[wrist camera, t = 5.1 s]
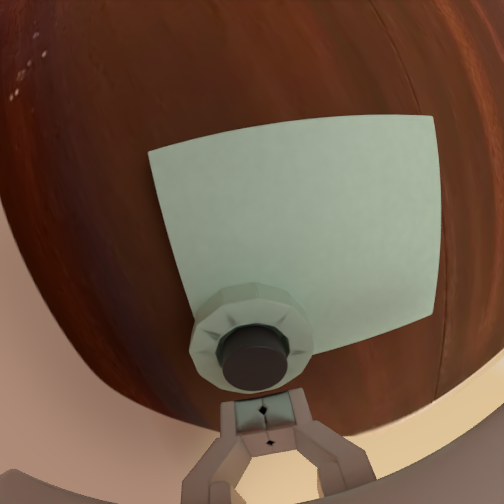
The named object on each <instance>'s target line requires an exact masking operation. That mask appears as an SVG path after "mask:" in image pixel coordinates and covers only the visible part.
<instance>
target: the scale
mask: <svg viewBox="0 0 504 504" xmlns="http://www.w3.org/2000/svg"><path fill="white" fill-rule="evenodd" d="M148 157H149V161H150V166H151V170H152V175H153V179H154V183H155V187H156V192H157V196H158V200H159V204H160V207H161V211H162V215H163V219H164V223H165V226H166V230H167V233H168V237H169V240H170V244H171V247H172V251H173V254H174V258H175V261H176V264H177V267H178V271H179V274H180V277H181V280H182V283H183V286H184V289H185V292H186V295H187V298H188V301H189V304H190V307H191V310H192V313H193V316H194V319H195V322H194V326H193V329H192V334H191V340H190V346H189V353H190V355H191V358H192V360H193V362H194V364H195V367H196V369H197V371H198V373H199V375H200V376H202V377H203V378H205V379H206V380H208V381H209V382H211V383H212V384H214V385H215V386H217V387H218V388H220V389H223V390H228V391H233V392H239V393H245V394H249V393H250V394H251V393H257V392H262V391H267V390H272V389H276V388H279V387H281V386H282V385H284V384H286V383H287V382H289V381H290V380H292V379H293V378H295V377H296V376H298V375H299V374H300V373H302V372H303V370H304V368H305V367H306V365H307V363H308V362H309V360H310V358H311V356H312V355H314V354H317V353H321V352H325V351H328V350H332V349H335V348H339V347H342V346H346V345H349V344H352V343H355V342H358V341H362V340H365V339H368V338H371V337H374V336H376V335H379V334H382V333H385V332H388V331H391V330H393V329H396V328H399V327H401V326H404V325H407V324H409V323H412V322H414V321H417V320H419V319H422V318H424V317H426V316H429V315H431V314H432V312H433V306H434V300H435V293H436V285H437V277H438V267H439V255H440V237H441V188H440V170H439V159H438V149H437V141H436V133H435V126H434V120H433V116H424V115H353V116H336V117H323V118H313V119H303V120H295V121H287V122H279V123H272V124H266V125H260V126H254V127H248V128H243V129H237V130H232V131H227V132H222V133H218V134H213V135H209V136H204V137H200V138H196V139H192V140H188V141H184V142H180V143H176V144H173V145H169V146H166V147H162V148H159V149H155V150H152V151H149V152H148ZM254 325H255V326H263V327H267V328H269V329H271V330H273V331H274V332H275V333H276V334H277V335H278V336H279V337H280V339H281V341H282V345H283V348H284V351H285V355H286V358H287V362H288V369H287V372H286V374H285V376H284V378H283V379H282V380H281V381H280V382H279V383H277V384H276V385H274V386H273V387H270V388H268V389H265V390H261V391H244V390H240V389H238V388H235V387H233V386H232V385H231V384H229V383H228V382H227V380H226V379H225V377H224V375H223V371H222V349H223V344H224V342H225V340H226V338H227V337H228V336H229V335H230V334H231V333H232V332H234V331H235V330H237V329H239V328H242V327H246V326H254Z"/></svg>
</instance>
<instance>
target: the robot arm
mask: <svg viewBox="0 0 504 504" xmlns="http://www.w3.org/2000/svg"><path fill="white" fill-rule="evenodd" d="M295 449H297V451H299V452H300V453H301V454H302V455H303V456H304V457H305V458H307V459H308V460H309V461H310V462H311V463H312V464H314V465H315V466H316V467H317V468H318V469H317V482H318V483H317V488H318V493H319V497H320V498H319V499H315V500H311V501H306V502H302V503H297V504H504V403H503V404H502V405H501V406H500V407H498V408H497V409H496V410H495V411H494V412H492V413H491V414H490V415H489V416H487V417H486V418H485V419H483V420H482V421H481V422H480V423H478V424H477V425H476V426H474V427H473V428H471V429H470V430H468V431H467V432H466V433H464V434H463V435H461V436H460V437H458V438H457V439H455V440H454V441H452V442H450V443H449V444H447V445H446V446H444V447H442V448H441V449H439V450H437V451H435V452H434V453H432V454H430V455H428V456H426V457H425V458H423V459H421V460H419V461H417V462H415V463H413V464H411V465H409V466H407V467H405V468H403V469H401V470H399V471H396V472H394V473H392V474H390V475H387V476H385V477H383V478H380V479H378V480H377V479H376V476H375V474H374V472H373V469H372V467H371V465H370V462H369V460H368V457H367V455H366V452H365V451H364V450H363V449H362V448H360V447H358V446H356V445H355V444H353V443H352V442H350V441H348V440H347V439H345V438H344V437H342V436H340V435H339V434H337V433H336V432H334V431H333V430H331V429H330V428H328V427H327V426H325V425H324V424H322V423H321V422H319V421H318V420H315V421H313V420H312V417H311V413H310V410H309V407H308V404H307V400H306V397H305V394H304V391H303V389H302V388H297V389H293V390H289V391H283V392H279V393H275V394H270V395H265V396H261V397H257V398H250V399H243V400H236V401H229V402H221V405H220V438H216V439H215V441H214V442H213V443H212V445H211V446H210V447H209V448H208V450H207V451H206V452H205V454H204V455H203V456H202V458H201V459H200V460H199V461H198V463H197V464H196V465H195V466H194V468H193V469H192V470H191V471H190V473H189V474H188V475H187V476H186V477H185V479H184V480H183V481H182V491H181V504H246V501H245V500H244V499H243V498H242V497H241V496H240V495H239V494H238V493H237V491H236V490H235V487H236V486H237V484H238V482H239V481H240V479H241V477H242V475H243V474H244V471H245V470H246V468H247V466H248V465H249V463H250V461H251V459H252V458H251V457H257V456H263V455H268V454H273V453H279V452H285V451H289V450H295ZM0 504H116V503H112V502H107V501H103V500H99V499H95V498H91V497H87V496H84V495H81V494H77V493H74V492H71V491H68V490H65V489H62V488H59V487H57V486H54V485H51V484H49V483H46V482H43V481H41V480H38V479H36V478H34V477H32V476H29V475H27V474H25V473H23V472H21V471H19V470H17V469H10V470H8V471H6V472H5V473H3V474H1V475H0Z"/></svg>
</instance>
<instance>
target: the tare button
mask: <svg viewBox="0 0 504 504" xmlns="http://www.w3.org/2000/svg"><path fill="white" fill-rule="evenodd" d="M287 369H288V362H287V358H286V355H285V351H284V348H283V345H282V341H281V339H280V337H279V336H278V335H277V334H276V333H275V332H274V331H273V330H271V329H269V328H267V327H263V326H255V325H254V326H246V327H242V328H239V329H237V330H235V331H234V332H232V333H231V334H230V335H229V336H228V337H227V338H226V340H225V342H224V344H223V349H222V371H223V375H224V377H225V379H226V380H227V382H228V383H229V384H231V385H232V386H233V387H235V388H238V389H240V390H244V391H261V390H265V389H268V388H270V387H273V386H274V385H276V384H277V383H279V382H280V381H281V380H282V379H283V378H284V376H285V374H286V372H287Z"/></svg>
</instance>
